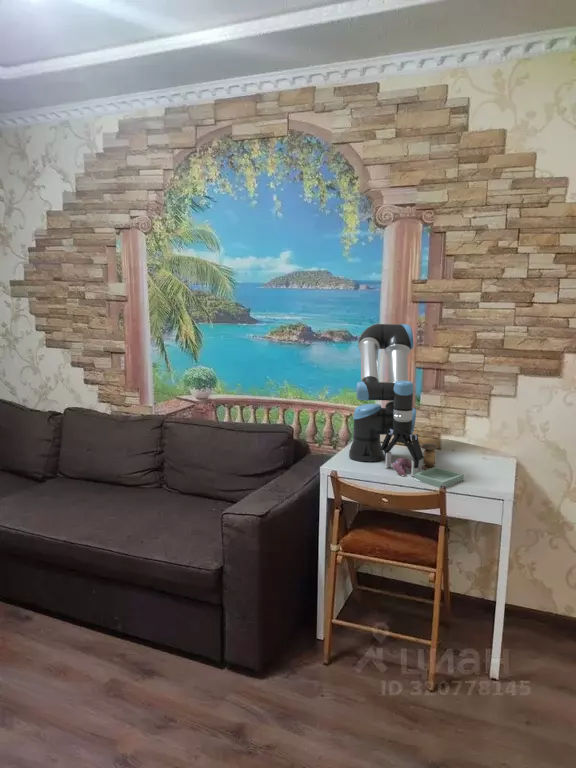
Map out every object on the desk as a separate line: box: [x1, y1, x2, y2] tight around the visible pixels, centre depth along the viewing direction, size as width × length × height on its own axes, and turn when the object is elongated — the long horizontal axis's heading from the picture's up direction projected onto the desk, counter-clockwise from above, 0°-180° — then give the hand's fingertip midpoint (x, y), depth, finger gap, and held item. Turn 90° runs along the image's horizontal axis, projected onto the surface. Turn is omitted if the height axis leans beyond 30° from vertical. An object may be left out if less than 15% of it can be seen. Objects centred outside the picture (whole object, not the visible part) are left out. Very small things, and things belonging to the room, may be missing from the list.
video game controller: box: [392, 457, 412, 476], centre depth 232 cm, size 10×5×7 cm, turn 141°
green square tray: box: [413, 466, 465, 489], centre depth 223 cm, size 13×14×2 cm
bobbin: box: [421, 443, 438, 471], centre depth 236 cm, size 6×6×10 cm
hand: (400, 471), depth 233 cm, fingers open, 12 cm apart
